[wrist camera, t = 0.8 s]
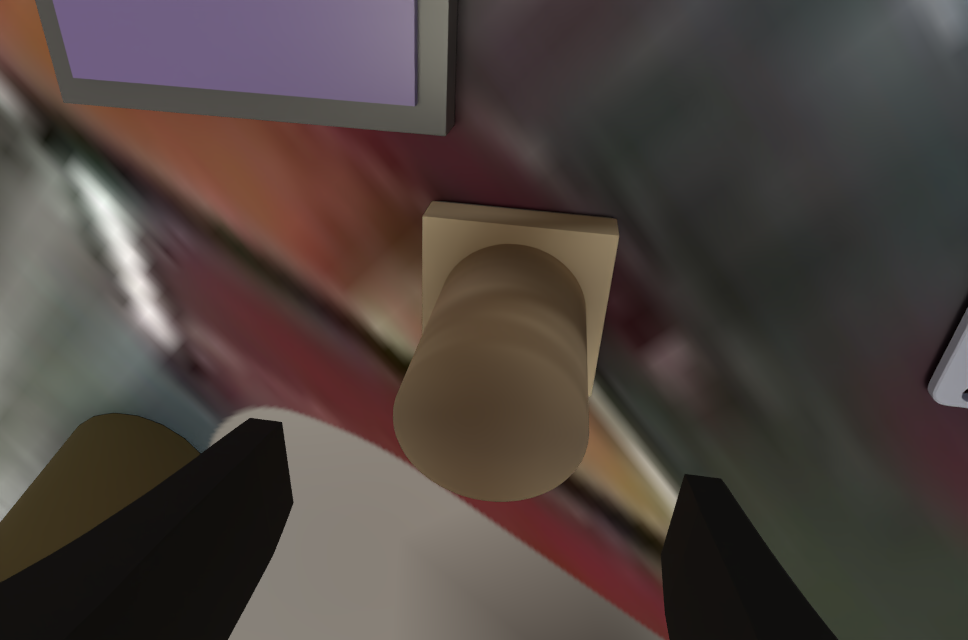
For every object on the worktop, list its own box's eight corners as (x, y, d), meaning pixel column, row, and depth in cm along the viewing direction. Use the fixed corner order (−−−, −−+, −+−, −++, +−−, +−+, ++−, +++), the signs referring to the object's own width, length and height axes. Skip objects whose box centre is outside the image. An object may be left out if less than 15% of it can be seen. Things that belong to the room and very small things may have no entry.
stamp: (616, 213, 17) (635, 339, 11) (589, 366, 19) (595, 532, 14) (434, 196, 17) (363, 308, 11) (432, 347, 20) (373, 500, 14)
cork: (39, 435, 24) (-310, 739, 15) (152, 395, 22) (-163, 713, 13) (137, 539, 27) (-107, 857, 17) (247, 511, 25) (41, 849, 15)
